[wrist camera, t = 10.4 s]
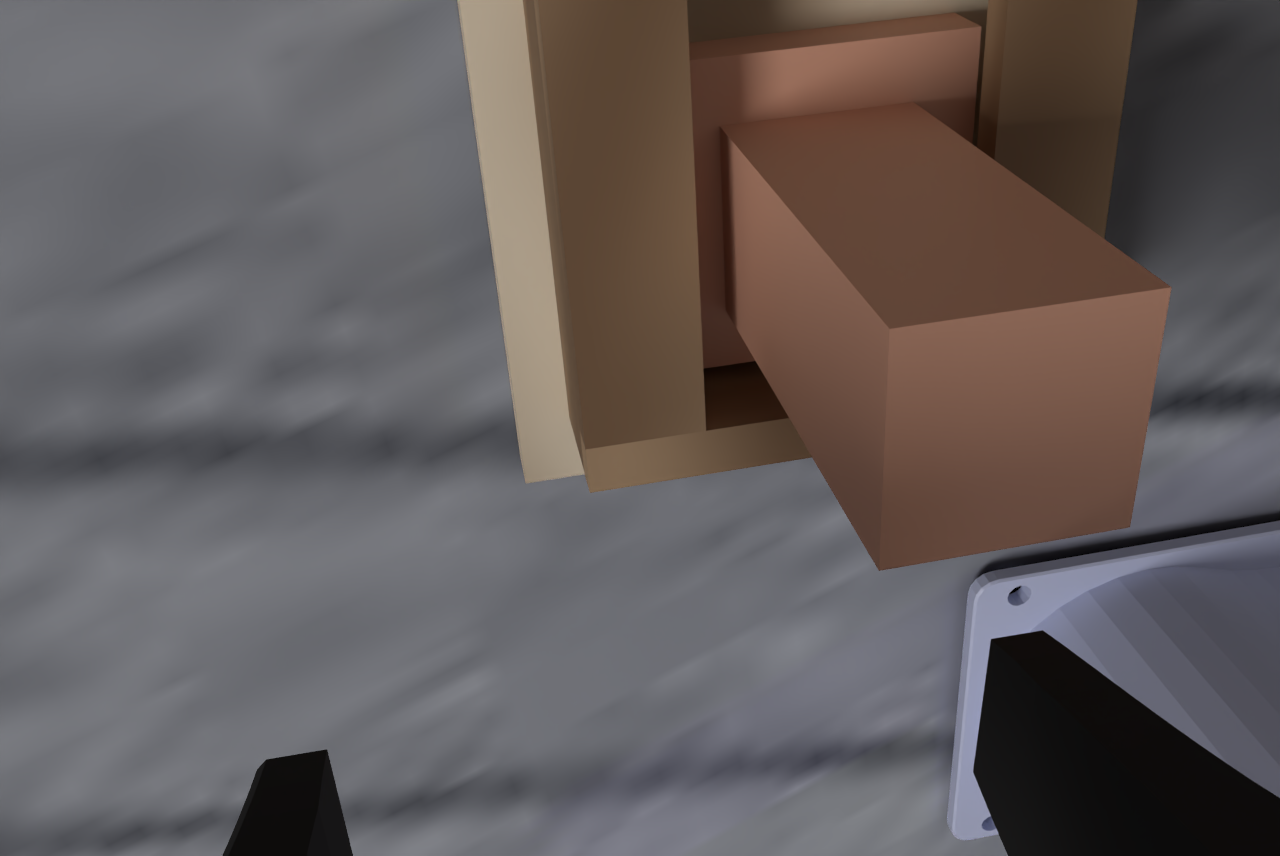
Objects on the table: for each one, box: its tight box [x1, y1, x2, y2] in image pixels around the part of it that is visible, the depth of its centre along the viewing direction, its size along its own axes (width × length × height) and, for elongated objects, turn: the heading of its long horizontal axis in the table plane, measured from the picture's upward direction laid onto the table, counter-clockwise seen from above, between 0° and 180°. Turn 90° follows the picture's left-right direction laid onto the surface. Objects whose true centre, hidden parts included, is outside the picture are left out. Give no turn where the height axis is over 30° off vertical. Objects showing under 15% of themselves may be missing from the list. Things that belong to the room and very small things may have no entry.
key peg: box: [689, 13, 1171, 571], centre depth 16 cm, size 5×5×8 cm
